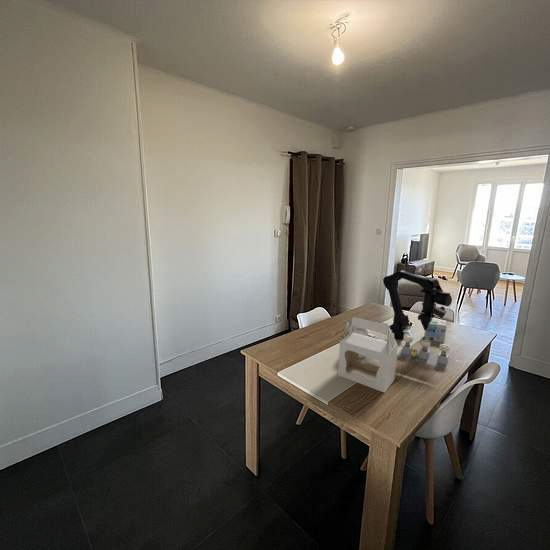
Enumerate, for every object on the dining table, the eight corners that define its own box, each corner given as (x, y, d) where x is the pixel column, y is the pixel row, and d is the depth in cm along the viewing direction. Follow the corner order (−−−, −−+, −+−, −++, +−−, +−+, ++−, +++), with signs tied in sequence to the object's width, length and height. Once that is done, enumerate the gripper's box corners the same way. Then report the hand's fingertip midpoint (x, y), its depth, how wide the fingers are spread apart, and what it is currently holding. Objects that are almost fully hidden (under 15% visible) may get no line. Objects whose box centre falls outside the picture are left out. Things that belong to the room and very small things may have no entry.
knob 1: (401, 347, 158) (402, 337, 157) (404, 344, 161) (405, 334, 160) (410, 349, 155) (411, 339, 154) (412, 346, 159) (413, 336, 157)
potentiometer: (409, 358, 153) (410, 350, 152) (411, 356, 155) (411, 348, 154) (415, 359, 151) (416, 352, 150) (417, 357, 153) (418, 350, 153)
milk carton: (366, 353, 161) (369, 320, 157) (366, 358, 154) (368, 324, 150) (353, 351, 163) (355, 318, 159) (352, 356, 156) (354, 322, 152)
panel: (396, 357, 156) (397, 348, 155) (402, 348, 166) (403, 340, 165) (448, 371, 142) (449, 362, 141) (451, 361, 152) (453, 352, 151)
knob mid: (419, 351, 153) (420, 341, 152) (421, 348, 156) (422, 338, 155) (428, 354, 150) (429, 343, 149) (430, 350, 153) (431, 340, 152)
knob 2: (437, 356, 148) (438, 345, 146) (439, 353, 151) (440, 342, 150) (447, 359, 145) (449, 348, 144) (448, 355, 148) (450, 345, 147)
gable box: (395, 380, 135) (400, 322, 129) (385, 393, 124) (390, 331, 119) (349, 364, 148) (352, 311, 143) (337, 375, 138) (340, 318, 132)
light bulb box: (424, 339, 178) (426, 323, 176) (423, 335, 184) (425, 319, 182) (444, 342, 174) (447, 325, 172) (443, 338, 180) (445, 321, 178)
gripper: (443, 308, 147) (439, 338, 150) (448, 300, 162) (445, 327, 165) (419, 304, 154) (415, 332, 157) (426, 296, 168) (423, 322, 171)
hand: (425, 328), depth 162 cm, fingers open, 4 cm apart
